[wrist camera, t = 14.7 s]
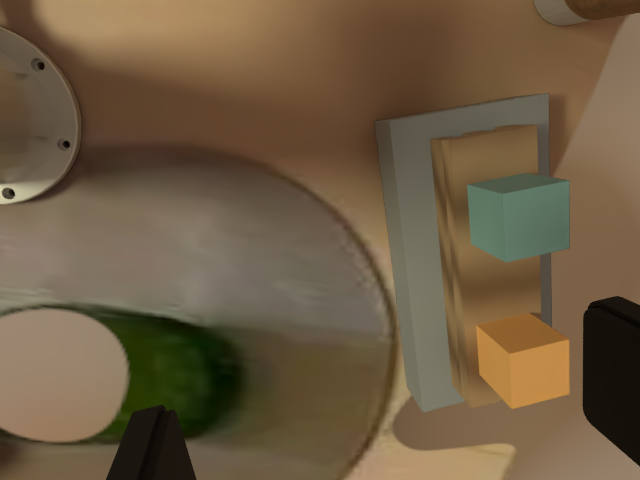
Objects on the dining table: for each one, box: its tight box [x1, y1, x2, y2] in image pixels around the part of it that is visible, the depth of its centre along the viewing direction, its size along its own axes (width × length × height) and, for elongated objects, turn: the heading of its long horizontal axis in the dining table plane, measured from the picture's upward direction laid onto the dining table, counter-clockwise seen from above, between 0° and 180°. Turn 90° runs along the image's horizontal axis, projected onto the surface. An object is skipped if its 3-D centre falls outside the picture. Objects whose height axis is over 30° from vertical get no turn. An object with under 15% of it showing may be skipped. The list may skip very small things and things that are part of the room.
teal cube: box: [467, 173, 570, 262], centre depth 30 cm, size 4×4×4 cm
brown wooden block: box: [430, 125, 541, 408], centre depth 35 cm, size 22×6×4 cm, turn 9°
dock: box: [374, 93, 552, 412], centre depth 38 cm, size 26×13×4 cm, turn 9°
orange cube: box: [476, 313, 569, 409], centre depth 33 cm, size 4×4×4 cm
